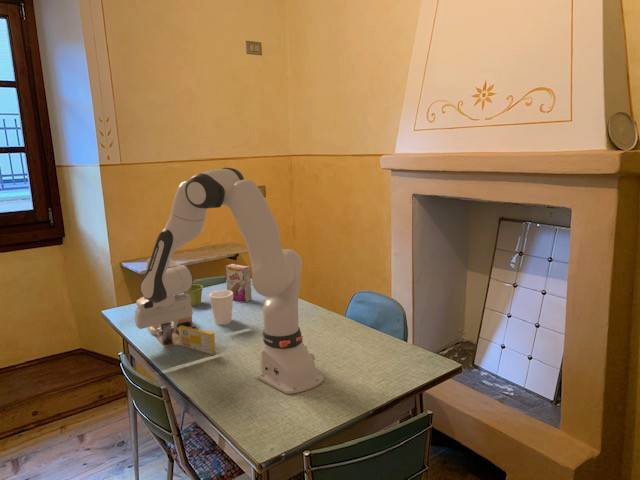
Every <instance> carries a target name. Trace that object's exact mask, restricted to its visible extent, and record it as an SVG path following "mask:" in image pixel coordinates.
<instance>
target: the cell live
mask: <svg viewBox="0 0 640 480" xmlns="http://www.w3.org/2000/svg"><path fill="white" fill-rule="evenodd" d="M161 330H162V342H163V343H170V342H172V341H173V340H172V330H171V322H168V323H164V324H161Z"/></svg>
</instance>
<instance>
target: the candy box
mask: <svg viewBox="0 0 640 480" xmlns="http://www.w3.org/2000/svg"><path fill="white" fill-rule="evenodd" d="M178 329H179V343H180V344H179V345H180V346H182V347H186V348H189V349H193V350H195V351H199V352H203V353H207V354H210V355H209V356H210V357H214V356H216V339H215V337H216V336H215V332H211V331H206V330H203V329H199V328H198V329H195V328H190V327H186V326H182V325H181V326H179V327H178Z"/></svg>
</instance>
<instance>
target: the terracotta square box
mask: <svg viewBox="0 0 640 480" xmlns="http://www.w3.org/2000/svg"><path fill="white" fill-rule="evenodd" d="M188 321H190V322H191V323H192V324H193V325H194V323H193V315H192V316H191V317H188V318H184V319H180V320H178V324H179V323H184V322H188Z"/></svg>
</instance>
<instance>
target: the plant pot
mask: <svg viewBox="0 0 640 480" xmlns="http://www.w3.org/2000/svg"><path fill="white" fill-rule="evenodd" d="M203 288H204V286H203V285H202V284H192V287H191V288H190V289H188V290H187V291H184V292H182V294H183V293H187V294H190V296H191V306H192V307H193V306H194V307H195V306H199V305H201V304H202V292H203Z"/></svg>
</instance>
